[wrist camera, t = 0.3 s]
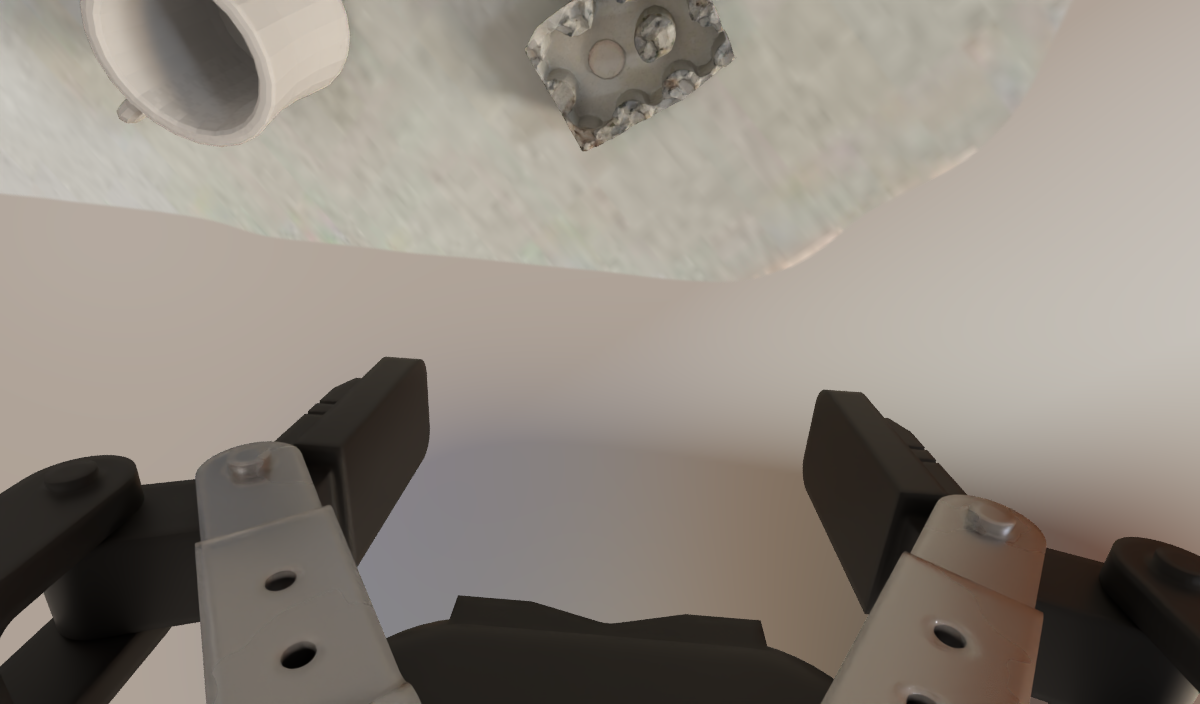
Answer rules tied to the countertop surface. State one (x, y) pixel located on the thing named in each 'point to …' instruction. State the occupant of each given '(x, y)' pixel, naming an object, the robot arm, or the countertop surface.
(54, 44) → the countertop surface
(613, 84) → the egg carton
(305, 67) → the mug
